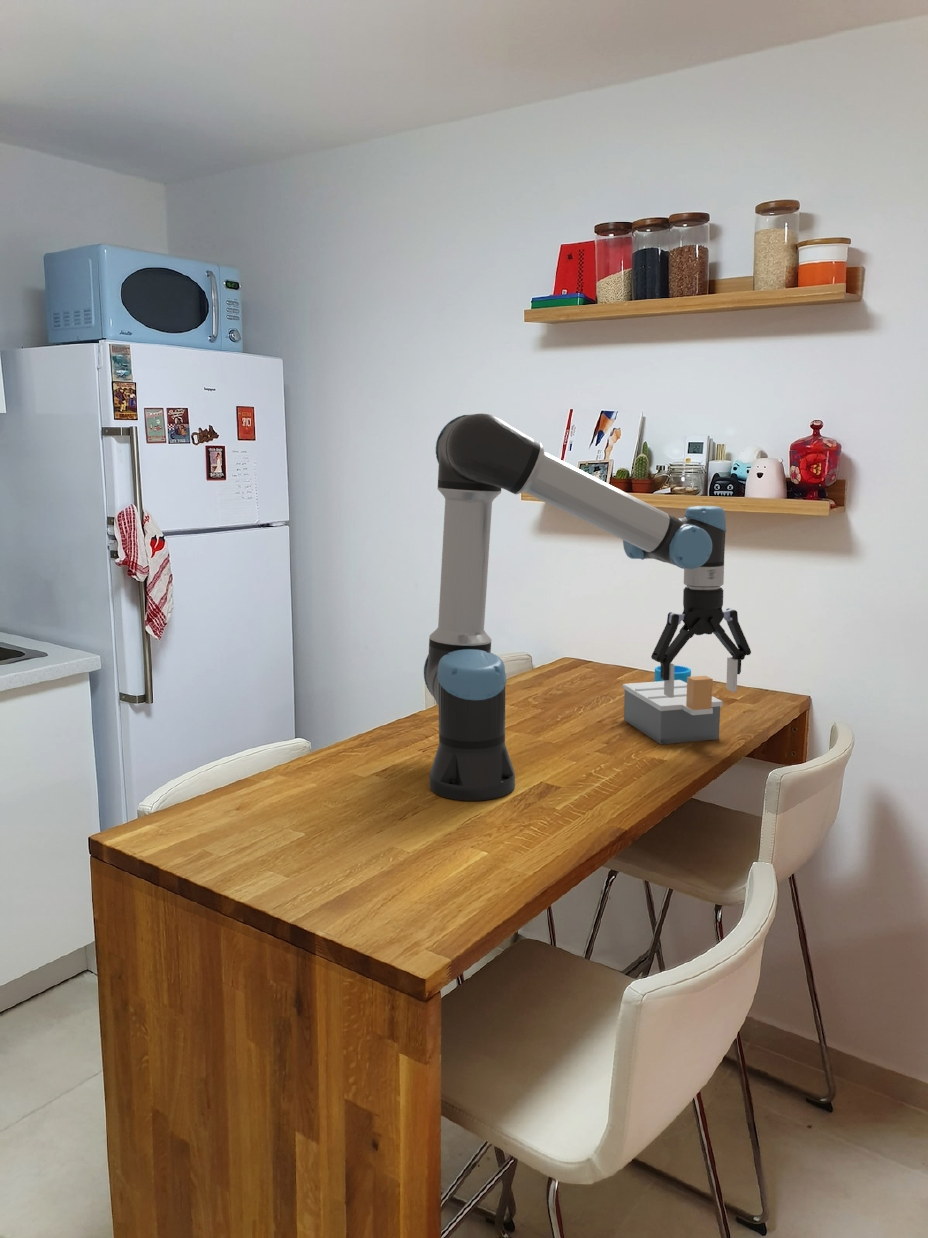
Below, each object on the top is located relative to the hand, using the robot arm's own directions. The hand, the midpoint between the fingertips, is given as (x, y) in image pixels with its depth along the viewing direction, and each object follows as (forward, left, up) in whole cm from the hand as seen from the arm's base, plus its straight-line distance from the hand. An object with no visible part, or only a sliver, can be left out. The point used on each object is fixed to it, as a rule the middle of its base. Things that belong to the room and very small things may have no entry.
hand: (700, 693), depth 189 cm
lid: (0, +10, -4) cm, 11 cm away
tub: (0, +12, -11) cm, 16 cm away
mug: (+11, +32, -11) cm, 36 cm away
